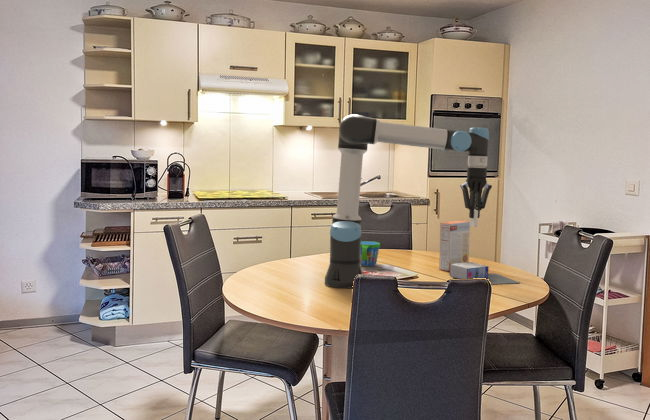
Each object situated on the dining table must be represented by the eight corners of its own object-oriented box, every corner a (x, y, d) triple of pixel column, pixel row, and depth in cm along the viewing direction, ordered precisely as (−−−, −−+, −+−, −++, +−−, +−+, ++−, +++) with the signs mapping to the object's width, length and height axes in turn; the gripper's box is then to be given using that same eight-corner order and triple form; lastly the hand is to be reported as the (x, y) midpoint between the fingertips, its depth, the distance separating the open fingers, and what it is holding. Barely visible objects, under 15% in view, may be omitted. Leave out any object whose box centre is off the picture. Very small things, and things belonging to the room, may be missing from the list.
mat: (474, 285, 229) (474, 284, 229) (452, 275, 246) (452, 274, 246) (519, 283, 234) (520, 282, 234) (495, 273, 251) (495, 273, 251)
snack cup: (362, 261, 274) (363, 239, 273) (384, 263, 270) (385, 241, 269) (350, 267, 260) (351, 244, 259) (373, 269, 256) (373, 246, 255)
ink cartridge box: (467, 282, 234) (492, 278, 242) (467, 268, 233) (493, 264, 241) (449, 277, 242) (474, 273, 250) (449, 263, 241) (474, 260, 249)
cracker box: (457, 266, 267) (459, 220, 265) (468, 268, 263) (471, 221, 261) (437, 269, 258) (439, 222, 256) (449, 271, 254) (451, 223, 252)
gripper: (466, 167, 229) (463, 227, 231) (497, 167, 232) (493, 227, 235) (457, 166, 236) (454, 225, 238) (487, 167, 239) (483, 225, 242)
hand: (473, 226), depth 237 cm, fingers closed
